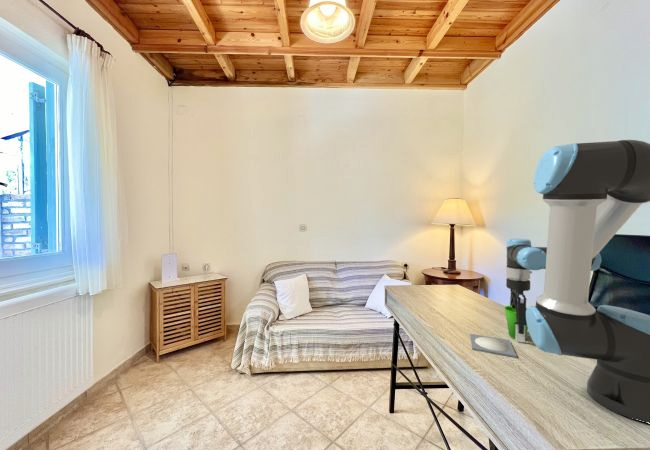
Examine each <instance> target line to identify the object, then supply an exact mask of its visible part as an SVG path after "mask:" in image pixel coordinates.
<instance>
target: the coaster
mask: <svg viewBox="0 0 650 450" xmlns="http://www.w3.org/2000/svg"><path fill="white" fill-rule="evenodd" d="M469 336H470V337H469V338H470V344H471V349H472V350H473V351H478V352H484V353H487V354H488V353H489V354H493V355H500V356H505V357H510V358H515V359H517V358H518V356H517V353H516V351H515V350H514V349H515V348H514V347H513V344H512V343H511V340H510V339H506V338H500V337H499V338H498V337H492V336H486V335H480V334H474V333H469Z"/></svg>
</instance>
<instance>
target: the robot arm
mask: <svg viewBox="0 0 650 450" xmlns="http://www.w3.org/2000/svg"><path fill="white" fill-rule="evenodd" d="M533 184H534V187H533V188H534V189H535V191H536V193H538V194H541V195H542V201H543V202H545V204H547V205H548V206H549V211H548V212H549V214H548V215H549V216H548V226H547V227H548V230H547V242H546V246H544V247H543V246H532V243H531V240H530V239H526V238H509V239H507V240H506V241H507V243H506V268H505V269H506V270H505V271H506V277H507V278H506V284H505V285H506V286H505V287H507V289H509V291H510V300H509V301H510V302H509V306H512V308H515V309H516V319H517V322H515V324H516V339H515V342H519V343H520V342H521V343H526V339H525V325H526V326H528V330H527V331H528V333H529V336H530V338H531V340H532V342H533V344H534V345H535V346H536V347H537V349H538V350H540V351H542V352H544V353H548V354H554V355H557V356H565V357H566V356H568V357H576V358H583V359H590V360H595V361H596V365H595V366H594V369H593V370H592V372H591V374H590V376H589V378H588V379H587V382H586V392H587V394H588V395H589V396H590V397H591V398H592V399H593V400H594V401H595V402H597V403H598V404H599V405H601V406H602V407H605V408H606V409H607V410H610V411H612V412H614V413H615V414H618V413H619V414H618V415H620V414H622V415H624V416H623V417H625V416H627V417H630V418H633V419H638V420H641V421H644V422H649V423H650V314H646V313H642V312H641V311H640V312H639V311H636V310H632V309H629V308H623V307H619V306H613V305H605V304H601V305H599V306H598V307H597V308H595V307H594V306H593V304H591V303H590V301H589V296H590V295H589V293H590V284H591V275H592V274H591V272H593V271H597V270H598V269H600V267H601V264H602V256H601V253H600V252H601V251H602V250H603V249H604V248H605V246H606V245H608V243H609V241H610V240H612V239H613V237H614V236H616V235H615V234H617V233H618V231H620V229H621V228H622V227H623V226H624V225H625V223H627V221H629V219H630V218H631V217H632V215H634V213H635V212H636V211H637V210H638V209H639V208H640V207H641V206H642V204H646V203H650V143H649V142H646V141H643V140H637V139H621V140H614V141H613V140H612V141H595V142H594V141H592V142H581V143H579V142H578V143H569V144H562V145H561V144H560V145H556V146H552V147H550V148H549V149H547V150H546V151H545V152H544V153H543V154H542V156H541V157H540V159H539V160H538V163H537V164H536V168H535V171H534V177H533ZM540 270H545V273H544V283H543V285H544V286H543V294H541V295H539V296H536V299H535V305H529V306H527V298H526V294H525V293H524V292H528V291H531V280H530V279H531V274H533V271H540ZM526 308H527V310H526ZM522 321H523V322H522ZM622 415H621V416H622ZM627 417H626V418H627ZM630 418H629V419H630ZM633 419H632V420H633Z"/></svg>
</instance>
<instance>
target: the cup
mask: <svg viewBox="0 0 650 450" xmlns="http://www.w3.org/2000/svg"><path fill="white" fill-rule="evenodd" d="M503 309H504V311H505V319H506V324H507V325H506V326H507V330H508V335H509V337H510V338H512V339H514V340H516V324H515V322H517V319H516V309H515V308H512V306H510V305H505V306H503ZM526 310H527V307H526ZM522 322H523V321H522ZM528 331H529V330H528V326H526V325H525V340H526V339H527V336H528V335H527V334H528Z"/></svg>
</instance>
